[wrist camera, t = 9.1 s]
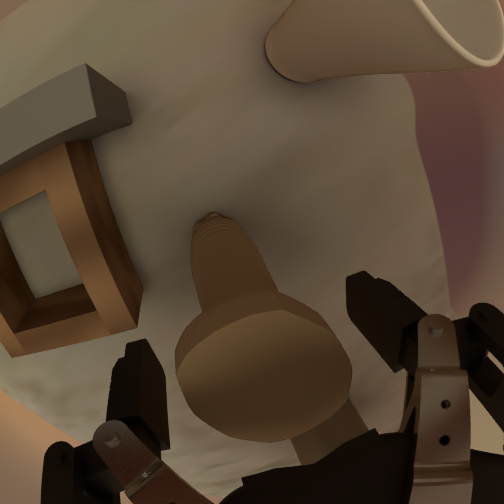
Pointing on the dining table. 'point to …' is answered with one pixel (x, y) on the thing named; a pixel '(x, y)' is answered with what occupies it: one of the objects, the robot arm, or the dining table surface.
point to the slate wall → (60, 115)
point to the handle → (254, 345)
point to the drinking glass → (384, 37)
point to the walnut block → (82, 253)
